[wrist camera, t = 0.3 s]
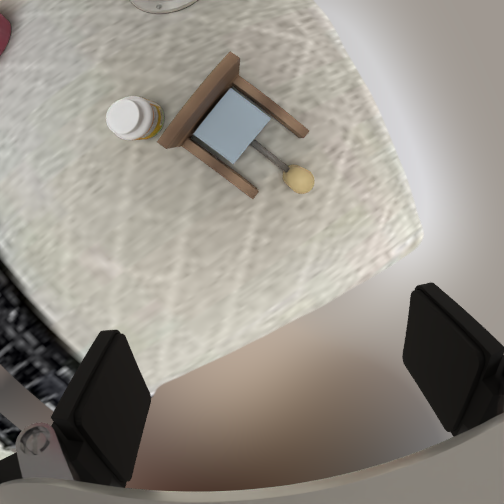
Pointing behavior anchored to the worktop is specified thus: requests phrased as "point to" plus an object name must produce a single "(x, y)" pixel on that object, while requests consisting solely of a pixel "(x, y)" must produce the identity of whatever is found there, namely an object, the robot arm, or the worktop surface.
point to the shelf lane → (203, 105)
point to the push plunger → (245, 136)
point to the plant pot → (4, 32)
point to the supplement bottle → (135, 118)
